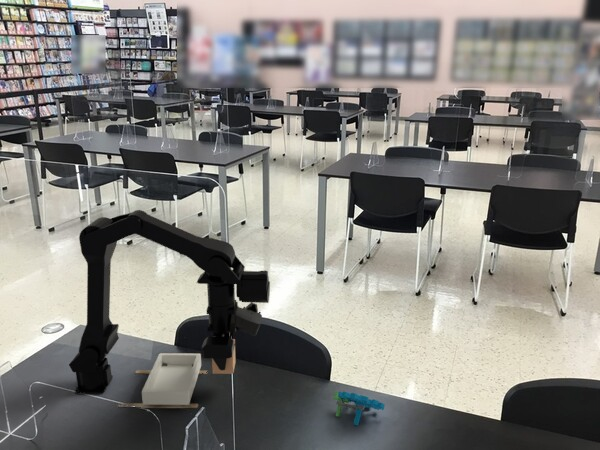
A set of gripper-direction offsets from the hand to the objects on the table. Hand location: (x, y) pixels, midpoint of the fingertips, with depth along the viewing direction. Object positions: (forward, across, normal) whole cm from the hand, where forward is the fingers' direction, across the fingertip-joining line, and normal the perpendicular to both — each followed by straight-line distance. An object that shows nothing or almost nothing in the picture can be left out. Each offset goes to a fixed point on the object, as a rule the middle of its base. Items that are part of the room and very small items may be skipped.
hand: (224, 363), depth 114 cm
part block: (+1, 0, 0) cm, 1 cm away
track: (+7, 0, +14) cm, 15 cm away
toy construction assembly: (+7, -9, -29) cm, 31 cm away
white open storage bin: (+7, 0, +12) cm, 13 cm away
